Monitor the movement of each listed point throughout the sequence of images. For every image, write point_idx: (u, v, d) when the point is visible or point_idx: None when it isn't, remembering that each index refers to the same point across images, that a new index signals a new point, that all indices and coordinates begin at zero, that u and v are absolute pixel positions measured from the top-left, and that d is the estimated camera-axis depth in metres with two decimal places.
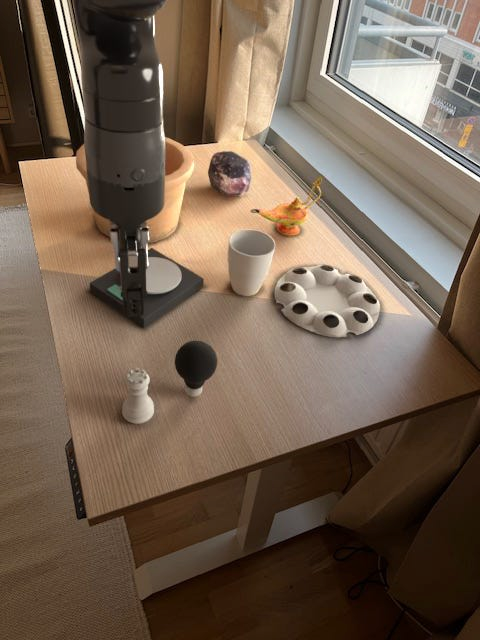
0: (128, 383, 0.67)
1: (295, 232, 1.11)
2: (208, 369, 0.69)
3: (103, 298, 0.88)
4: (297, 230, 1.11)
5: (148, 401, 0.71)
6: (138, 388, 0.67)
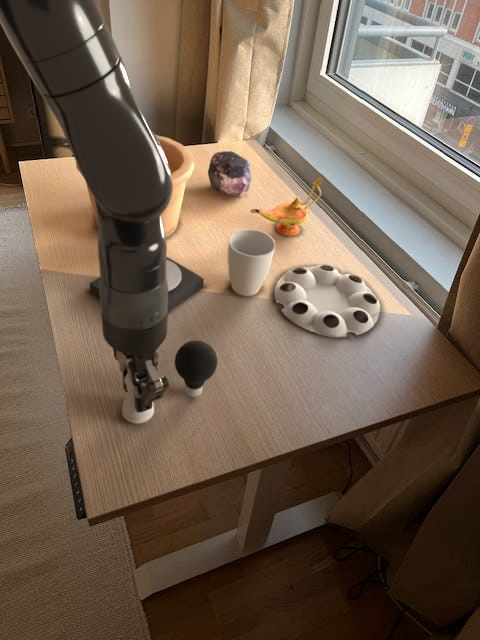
0: (128, 383, 0.67)
1: (295, 232, 1.11)
2: (208, 369, 0.69)
3: None
4: (297, 230, 1.11)
5: None
6: None
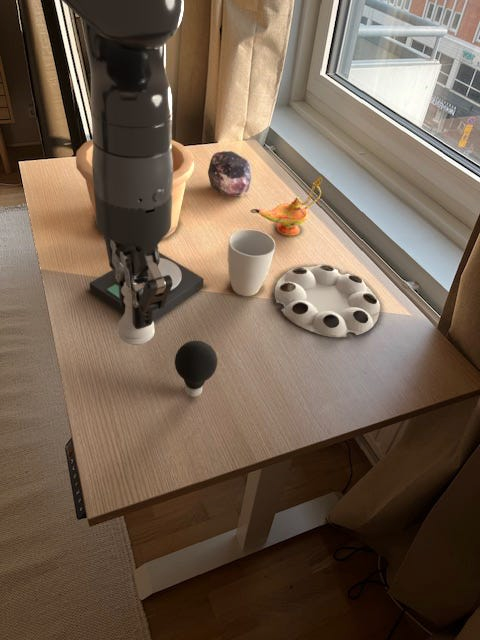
0: (125, 292, 0.58)
1: (295, 232, 1.11)
2: (208, 369, 0.69)
3: (103, 298, 0.88)
4: (297, 230, 1.11)
5: None
6: None
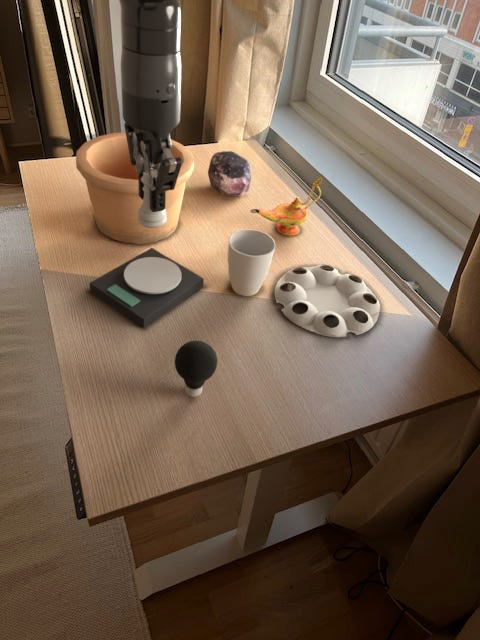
0: (144, 180, 0.74)
1: (295, 232, 1.11)
2: (208, 369, 0.69)
3: (103, 298, 0.88)
4: (297, 230, 1.11)
5: None
6: None
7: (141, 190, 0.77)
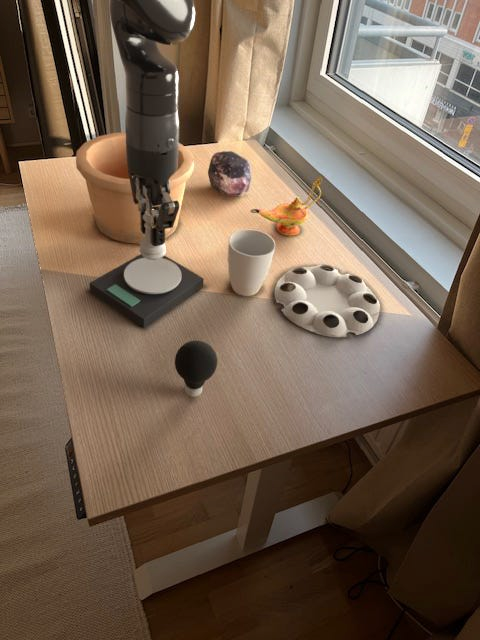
0: (145, 218, 0.82)
1: (295, 232, 1.11)
2: (208, 369, 0.69)
3: (103, 298, 0.88)
4: (297, 230, 1.11)
5: None
6: None
7: (143, 226, 0.85)
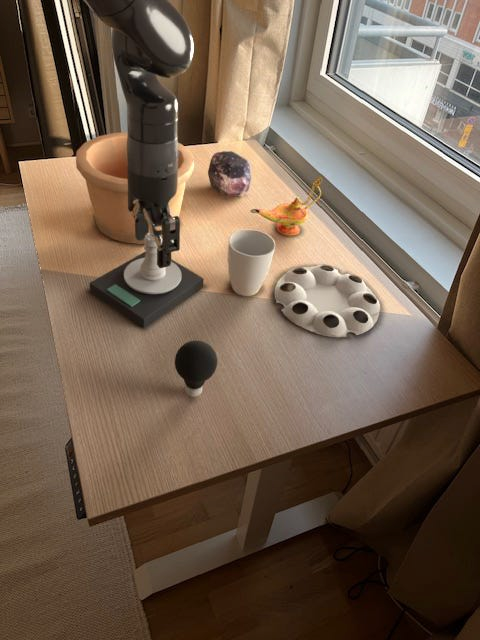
0: (146, 242, 0.85)
1: (295, 232, 1.11)
2: (208, 369, 0.69)
3: (103, 298, 0.88)
4: (297, 230, 1.11)
5: None
6: (154, 245, 0.85)
7: (137, 233, 0.89)
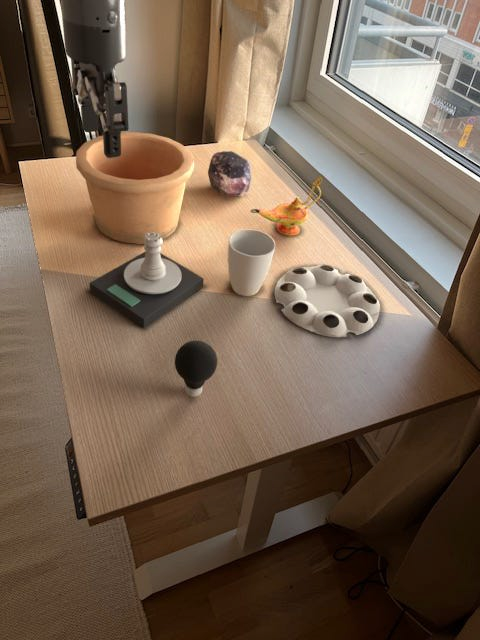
0: (146, 242, 0.85)
1: (295, 232, 1.11)
2: (208, 369, 0.69)
3: (103, 298, 0.88)
4: (297, 230, 1.11)
5: (161, 262, 0.89)
6: (154, 245, 0.85)
7: (84, 122, 0.75)
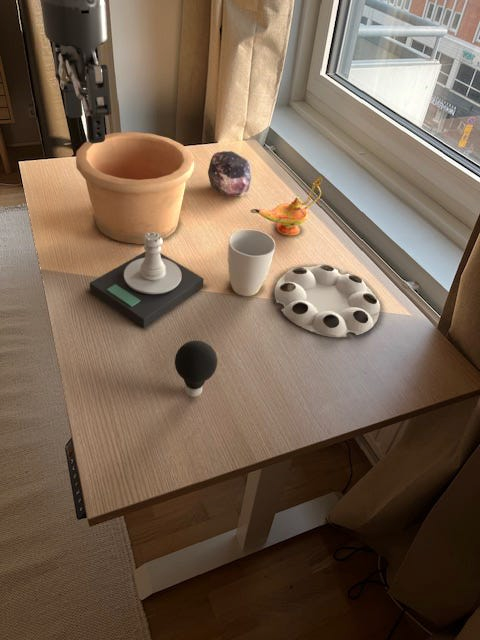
0: (146, 242, 0.85)
1: (295, 232, 1.11)
2: (208, 369, 0.69)
3: (103, 298, 0.88)
4: (297, 230, 1.11)
5: (161, 262, 0.89)
6: (154, 245, 0.85)
7: (67, 107, 0.73)
